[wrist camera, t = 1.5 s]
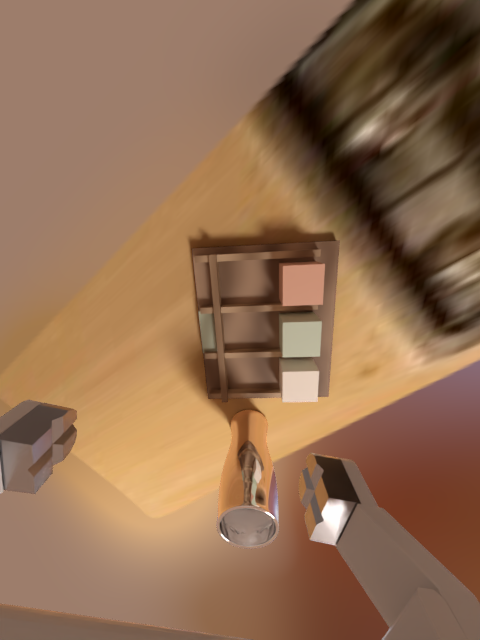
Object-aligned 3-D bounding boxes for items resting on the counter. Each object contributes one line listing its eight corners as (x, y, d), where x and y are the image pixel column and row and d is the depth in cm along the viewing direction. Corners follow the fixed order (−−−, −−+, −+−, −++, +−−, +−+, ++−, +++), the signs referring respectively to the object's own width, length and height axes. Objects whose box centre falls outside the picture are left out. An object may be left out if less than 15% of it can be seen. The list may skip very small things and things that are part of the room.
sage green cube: (313, 311, 32) (321, 321, 28) (312, 343, 33) (319, 356, 29) (279, 312, 32) (282, 322, 28) (279, 344, 33) (282, 357, 29)
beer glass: (220, 416, 39) (202, 516, 25) (258, 400, 38) (263, 496, 23) (240, 446, 41) (234, 556, 27) (277, 432, 39) (292, 540, 25)
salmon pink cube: (315, 261, 29) (325, 263, 26) (314, 296, 31) (322, 304, 27) (278, 262, 30) (282, 265, 26) (279, 298, 31) (282, 306, 27)
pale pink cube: (311, 356, 33) (319, 371, 30) (310, 384, 35) (317, 401, 31) (279, 357, 34) (282, 371, 30) (279, 384, 35) (282, 402, 31)
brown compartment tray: (336, 240, 30) (345, 240, 27) (326, 391, 37) (332, 405, 34) (194, 248, 31) (187, 249, 28) (209, 393, 38) (205, 407, 35)
